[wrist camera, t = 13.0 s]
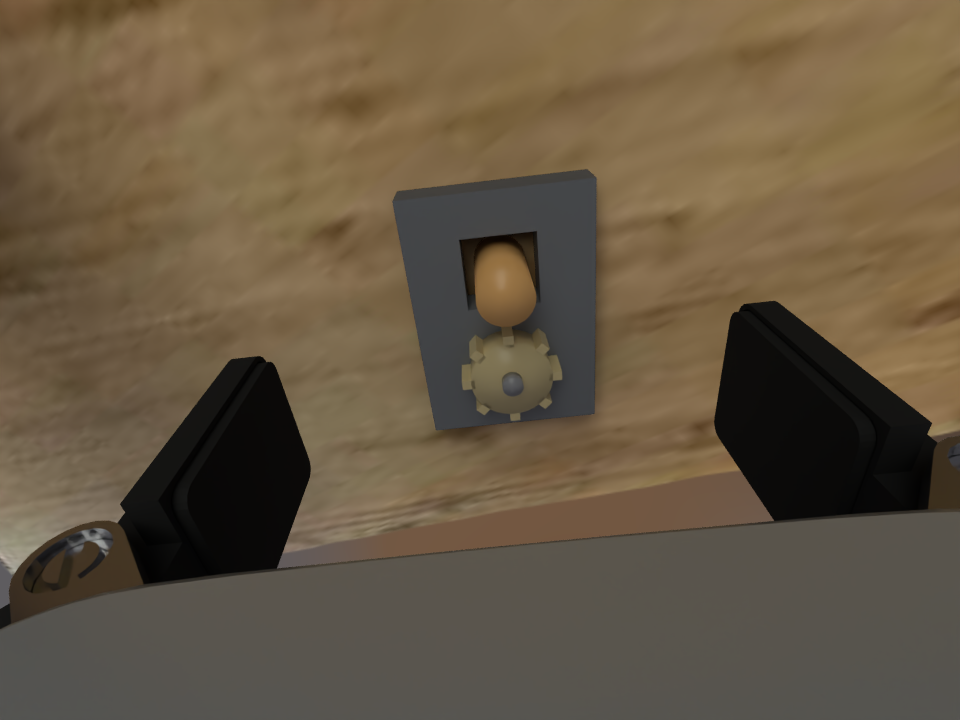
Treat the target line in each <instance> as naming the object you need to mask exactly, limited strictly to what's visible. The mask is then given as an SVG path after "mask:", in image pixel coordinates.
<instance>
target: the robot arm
mask: <svg viewBox="0 0 960 720" xmlns="http://www.w3.org/2000/svg"><path fill="white" fill-rule="evenodd" d="M714 424H715V430H716V433H717V435H718V437H719V439H720V440H721V442H722V443H723V445H724V446H725V448H726V449H727V451H728V452H729V454H730V455H731V457H732V458H733V460H734V461H735V463H736V464H737V466H738V467H739V469H740V470H741V472H742V473H743V475H744V476H745V477H746V479H747V481H748V482H749V484H750V485H751V487H752V488H753V490H754V491H755V493H756V494H757V496H758V497H759V498H760V500H761V502H762V503H763V505H764V506H765V507H766V509H767V510H768V512H769V513H770V515H771V516H772V518H773V519H774V521H769V522H758V523H747V524H735V525H724V526H713V527H702V528H691V529H680V530H669V531H658V532H646V533H635V534H624V535H614V536H603V537H592V538H582V539H572V540H561V541H550V542H540V543H529V544H519V545H509V546H498V547H488V548H477V549H467V550H457V551H446V552H436V553H426V554H416V555H406V556H397V557H387V558H377V559H367V560H357V561H348V562H338V563H328V564H318V565H308V566H298V567H288V568H278V569H277V566H278V564H279V561H280V558H281V556H282V553H283V550H284V547H285V544H286V542H287V539H288V536H289V533H290V531H291V528H292V525H293V522H294V520H295V517H296V514H297V511H298V509H299V506H300V503H301V500H302V497H303V495H304V492H305V489H306V486H307V484H308V481H309V478H310V472H311V467H310V461H309V458H308V455H307V452H306V450H305V447H304V444H303V441H302V438H301V436H300V433H299V430H298V427H297V425H296V422H295V419H294V416H293V414H292V411H291V408H290V405H289V402H288V400H287V397H286V394H285V391H284V389H283V386H282V383H281V380H280V378H279V375H278V372H277V369H276V367H275V365H274V364H273V363H272V362H266V361H265V359H264V358H263V357H261V356H257V357H247V358H238V359H231V360H230V361H229V362H228V363H227V365H226V366H225V367H224V369H223V370H222V371H221V372H220V374H219V375H218V376H217V378H216V379H215V380H214V382H213V383H212V384H211V386H210V387H209V388H208V390H207V391H206V392H205V393H204V395H203V396H202V397H201V399H200V400H199V401H198V403H197V404H196V405H195V407H194V408H193V409H192V410H191V412H190V413H189V414H188V416H187V417H186V418H185V420H184V421H183V422H182V424H181V425H180V426H179V428H178V429H177V430H176V431H175V433H174V434H173V435H172V437H171V438H170V439H169V441H168V442H167V443H166V445H165V446H164V447H163V449H162V450H161V451H160V452H159V454H158V455H157V456H156V458H155V459H154V460H153V462H152V463H151V464H150V466H149V467H148V468H147V469H146V471H145V472H144V473H143V475H142V476H141V477H140V479H139V480H138V481H137V483H136V484H135V485H134V487H133V488H132V489H131V490H130V492H129V493H128V494H127V496H126V497H125V498H124V500H123V501H122V502H121V504H120V505H121V506H122V508H123V510H124V511H125V514H124V515H123V516H122V518H121V519H120V520H119V522H118V523H115V522H112V521H94V522H90V523H86V524H82V525H79V526H77V527H74V528H72V529H70V530H67V531H65V532H63V533H61V534H59V535H58V536H56V537H54V538H52V539H51V540H49V541H47V542H46V543H45V544H43V545H42V546H41V547H39V548H38V549H37V550H35V551H34V552H33V553H32V554H31V555H30V556H29V557H28V558H27V559H26V560H25V561H24V562H23V563H22V564H21V565H20V566H19V568H18V569H17V571H16V572H15V574H14V576H13V577H12V579H11V583H10V588H9V599H10V604H8V605H6V606H5V607H3V608H1V609H0V720H960V436H955V437H948V438H946V439H944V440H942V441H940V442H938V443H937V442H936V441H935V440H933V439H932V438H931V437H930V436H928V435H927V434H928V431H929V429H930V427H931V424H932V423H931V422H930V421H929V420H928V419H926V418H925V417H924V416H923V415H921V414H920V413H919V412H917V411H916V410H915V409H914V408H912V407H911V406H910V405H908V404H907V403H906V402H905V401H903V400H902V399H901V398H900V397H898V396H897V395H896V394H894V393H893V392H892V391H891V390H889V389H888V388H887V387H885V386H884V385H883V384H882V383H880V382H879V381H878V380H877V379H875V378H874V377H873V376H871V375H870V374H869V373H868V372H866V371H865V370H864V369H862V368H861V367H860V366H859V365H857V364H856V363H855V362H854V361H852V360H851V359H850V358H848V357H847V356H846V355H845V354H843V353H842V352H841V351H839V350H838V349H837V348H836V347H834V346H833V345H832V344H831V343H829V342H828V341H827V340H825V339H824V338H823V337H822V336H820V335H819V334H818V333H817V332H815V331H814V330H813V329H811V328H810V327H809V326H808V325H806V324H805V323H804V322H802V321H801V320H800V319H799V318H797V317H796V316H795V315H794V314H792V313H791V312H790V311H788V310H787V309H786V308H785V307H783V306H782V305H781V304H779V303H778V302H776V301H768V302H759V303H750V304H744V305H742V306H741V308H740V310H739V312H734V313H733V314H732V316H731V319H730V324H729V330H728V337H727V343H726V349H725V356H724V362H723V368H722V375H721V381H720V387H719V394H718V400H717V406H716V413H715V420H714Z"/></svg>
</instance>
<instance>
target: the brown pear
mask: <svg viewBox="0 0 960 720" xmlns="http://www.w3.org/2000/svg"><path fill="white" fill-rule="evenodd" d="M474 276H475V295H476V306H477V309H478V312H479V313H480V315H481V316H482V317H483V318H484V319H485V320H486V321H487V322H489V323H490V324H493V325H495V326H499V327H511V326H515V325H518V324H520V323H522V322H523V321H525V320H526V319H527V318H528V317H529V316H530V315H531V313H532V312H533V310H534V308H535V305H536V291H535V288H534V285H533V281H532V278H531V275H530V272H529V269H528V265H527V262H526V259H525V256H524V252H523V249H522V247H521V245H520V244H519V243H518V241H517V240H516V239H514V238H513V237H511V236H509V235H497V236H489V237H486V238H485V239H483V240H482V241H481V242H480V243H479V244H478V246H477V247H476V249H475V252H474Z"/></svg>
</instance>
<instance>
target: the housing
mask: <svg viewBox="0 0 960 720" xmlns="http://www.w3.org/2000/svg"><path fill="white" fill-rule="evenodd" d="M392 202H393V207H394V213H395V218H396V223H397V228H398V234H399V239H400V244H401V249H402V255H403V260H404V265H405V270H406V276H407V281H408V286H409V291H410V297H411V302H412V307H413V312H414V318H415V323H416V328H417V334H418V339H419V344H420V349H421V355H422V360H423V365H424V370H425V376H426V381H427V386H428V391H429V397H430V402H431V407H432V412H433V418H434V423H435V428H436V430H444V429H453V428H463V427H473V426H483V425H492V424H502V423H512V422H522V421H531V420H541V419H551V418H560V417H570V416H580V415H590V414H594V413H595V294H596V177H595V176H594V175H593V174H592V173H591V172H590V171H589V170H588V169H585V170H577V171H568V172H560V173H551V174H542V175H534V176H525V177H517V178H508V179H500V180H491V181H482V182H474V183H465V184H457V185H448V186H440V187H431V188H422V189H414V190H405V191H397V193H396V195H395V197H394V199H393V201H392ZM524 232H533V243H534V261H535V279H536V288H535V291H536V305H535V308H534V310H533V312H532V313H531V315H530V316H529V317H528V318H527V319H526V320H525V321H523V322H522V323H520V324H518V325H515V326H511V327H499V326H495V325H493V324H490V323H489V322H487V321H486V320H485V319H484V318H483V317H482V316H481V315H480V313H479V312H478V309H477V306H476V295H475V294H473V295H468V292H467V284H466V276H465V269H464V261H463V253H462V245H461V240H462V239H471V238H480V237H489V236H497V235H506V234H515V233H524Z"/></svg>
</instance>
